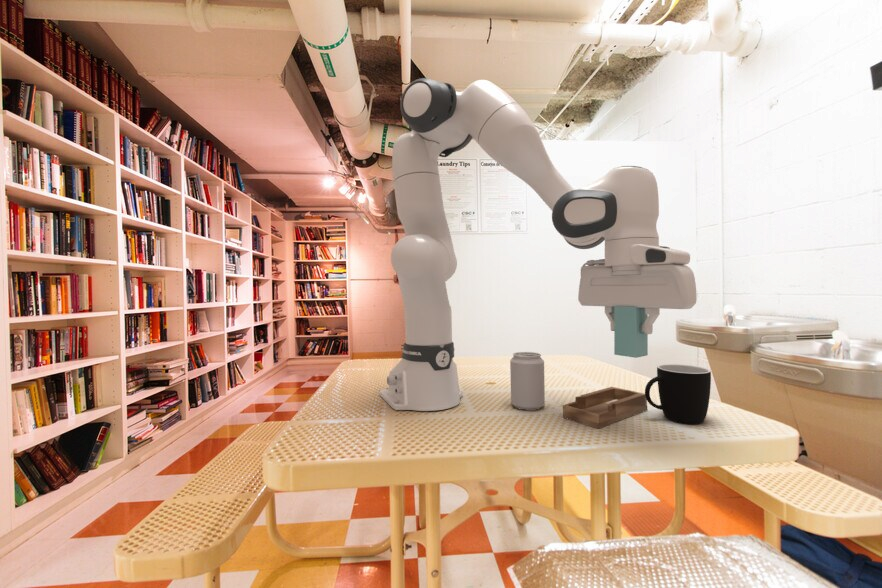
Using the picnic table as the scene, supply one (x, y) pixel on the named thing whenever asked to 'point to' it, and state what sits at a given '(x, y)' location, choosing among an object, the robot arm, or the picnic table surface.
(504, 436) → the picnic table surface
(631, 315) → the block
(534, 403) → the can
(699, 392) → the mug
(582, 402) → the brown wooden tray
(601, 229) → the robot arm
